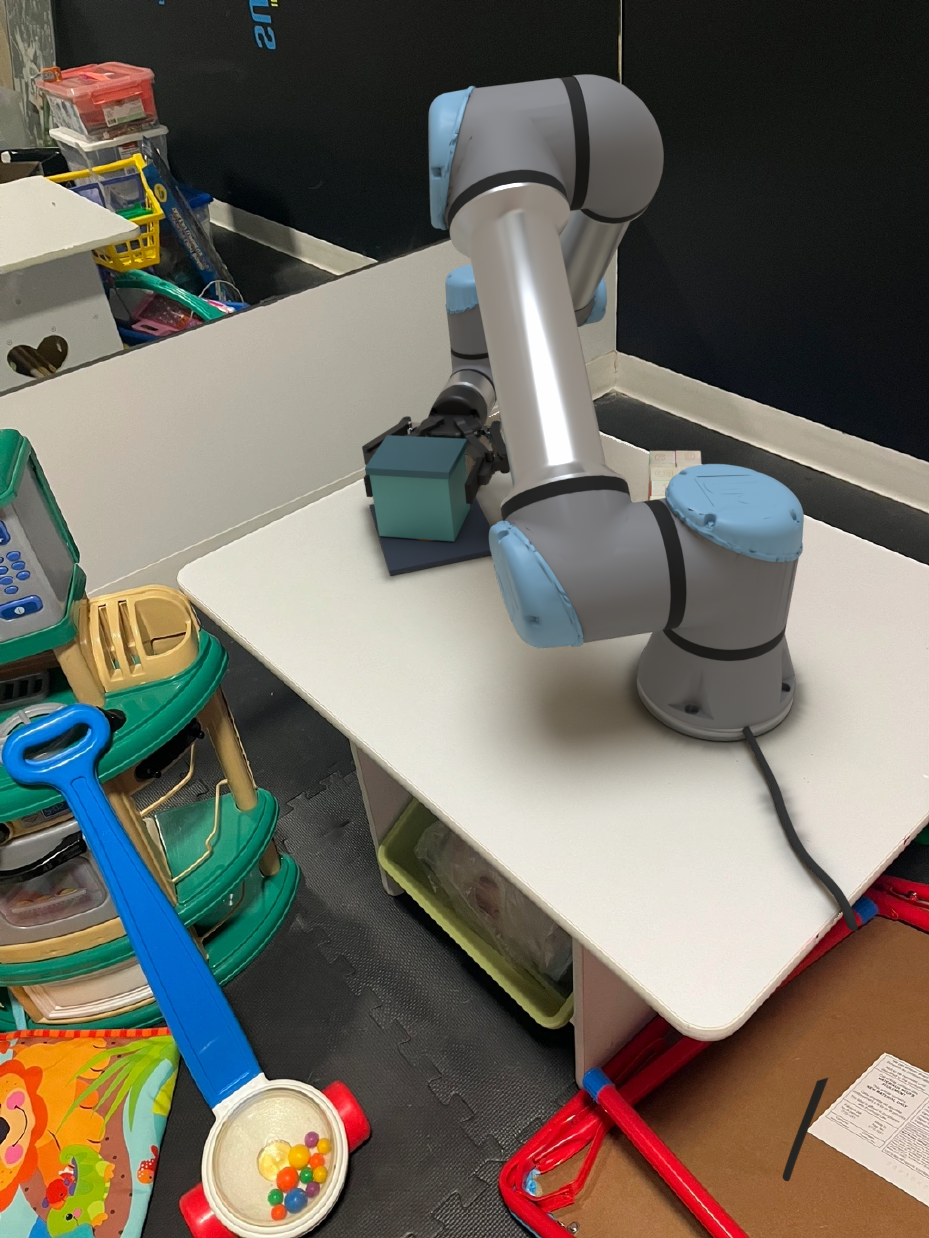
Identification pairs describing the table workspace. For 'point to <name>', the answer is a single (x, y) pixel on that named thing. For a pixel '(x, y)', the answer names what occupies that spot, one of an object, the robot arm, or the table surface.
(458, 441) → the teal box
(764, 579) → the robot arm
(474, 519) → the mat
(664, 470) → the stack of blocks
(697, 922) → the table surface
